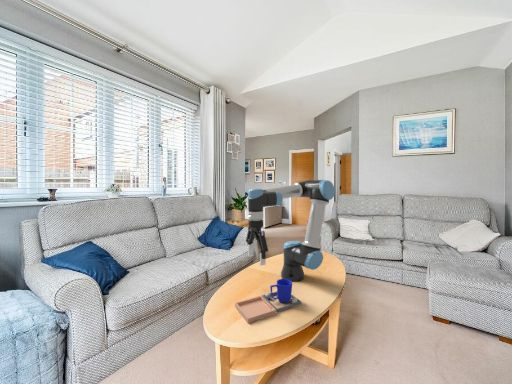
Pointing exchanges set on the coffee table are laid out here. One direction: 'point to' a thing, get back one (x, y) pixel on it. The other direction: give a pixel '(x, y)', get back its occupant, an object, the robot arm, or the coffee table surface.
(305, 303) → the coffee table surface
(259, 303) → the terracotta dish
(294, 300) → the pebble
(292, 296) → the slate bin
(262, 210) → the robot arm
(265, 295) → the pebble
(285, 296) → the mug
